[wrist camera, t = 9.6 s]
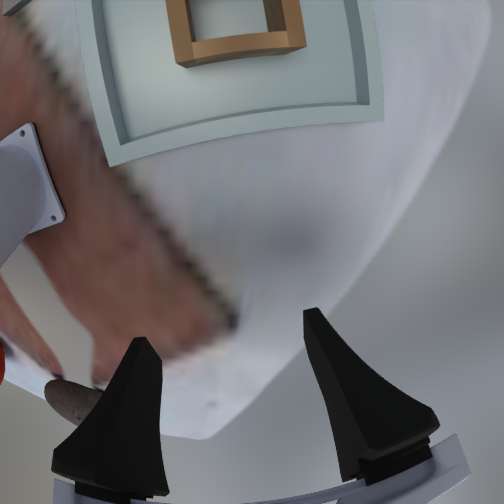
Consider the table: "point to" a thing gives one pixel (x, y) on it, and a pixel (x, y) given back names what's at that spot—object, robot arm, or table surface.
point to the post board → (13, 6)
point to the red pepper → (2, 363)
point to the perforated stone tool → (71, 399)
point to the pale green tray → (223, 73)
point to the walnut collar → (237, 46)
